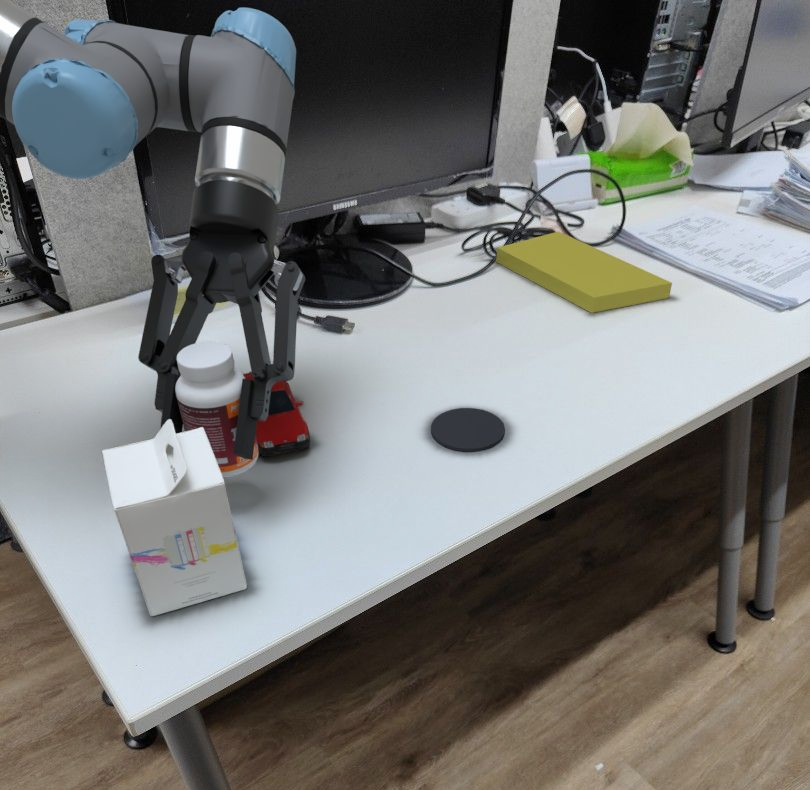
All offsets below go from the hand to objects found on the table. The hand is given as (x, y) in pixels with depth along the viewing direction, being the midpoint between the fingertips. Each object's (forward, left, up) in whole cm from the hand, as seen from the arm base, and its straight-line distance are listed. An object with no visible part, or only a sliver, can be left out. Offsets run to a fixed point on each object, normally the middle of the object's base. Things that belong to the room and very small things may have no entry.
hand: (205, 452), depth 67 cm
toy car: (-13, +11, -8) cm, 18 cm away
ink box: (+5, -5, -8) cm, 11 cm away
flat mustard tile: (-26, +64, -8) cm, 70 cm away
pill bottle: (-3, +2, -4) cm, 5 cm away
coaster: (-1, +28, -8) cm, 29 cm away
